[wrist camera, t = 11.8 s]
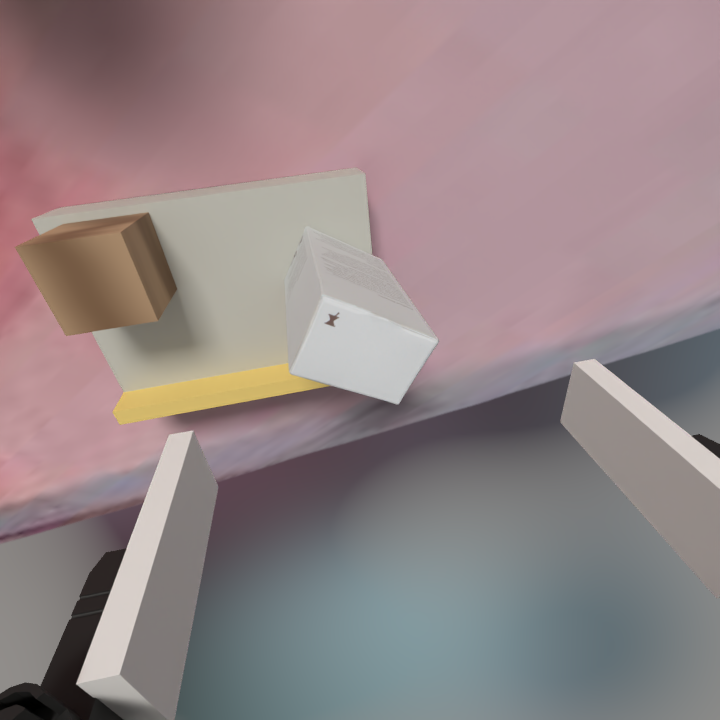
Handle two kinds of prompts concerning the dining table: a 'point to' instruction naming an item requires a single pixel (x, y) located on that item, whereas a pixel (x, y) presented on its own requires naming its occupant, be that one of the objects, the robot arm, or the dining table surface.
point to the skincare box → (352, 321)
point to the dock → (222, 288)
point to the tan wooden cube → (101, 273)
